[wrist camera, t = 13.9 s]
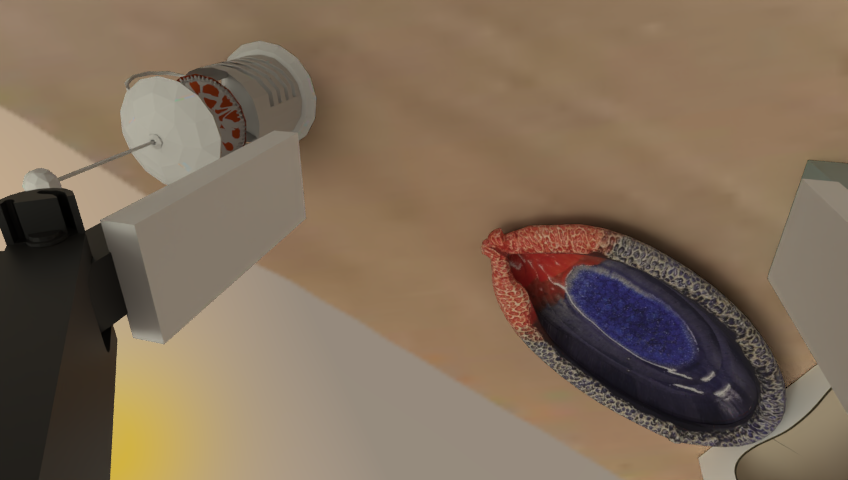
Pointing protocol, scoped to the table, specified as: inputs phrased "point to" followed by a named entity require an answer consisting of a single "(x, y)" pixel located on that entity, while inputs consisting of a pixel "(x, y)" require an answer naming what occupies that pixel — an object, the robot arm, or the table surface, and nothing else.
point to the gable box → (792, 440)
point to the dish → (638, 333)
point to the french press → (207, 112)
